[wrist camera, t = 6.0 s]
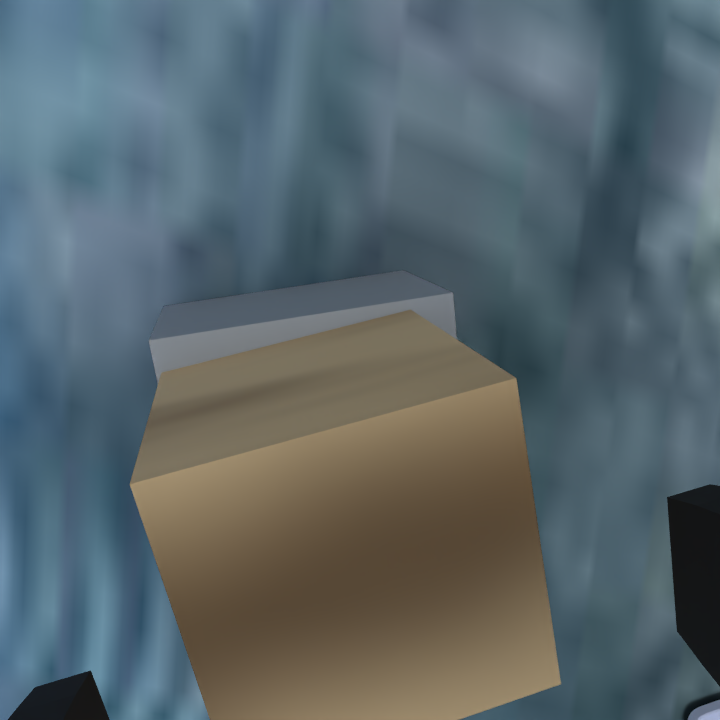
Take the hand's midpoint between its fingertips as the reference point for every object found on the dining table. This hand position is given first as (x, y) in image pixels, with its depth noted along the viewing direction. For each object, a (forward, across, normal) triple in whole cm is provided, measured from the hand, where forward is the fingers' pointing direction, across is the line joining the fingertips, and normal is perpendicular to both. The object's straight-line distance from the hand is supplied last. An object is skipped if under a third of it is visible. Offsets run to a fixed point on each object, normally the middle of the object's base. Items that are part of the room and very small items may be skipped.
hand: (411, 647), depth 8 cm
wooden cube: (+6, 0, 0) cm, 6 cm away
